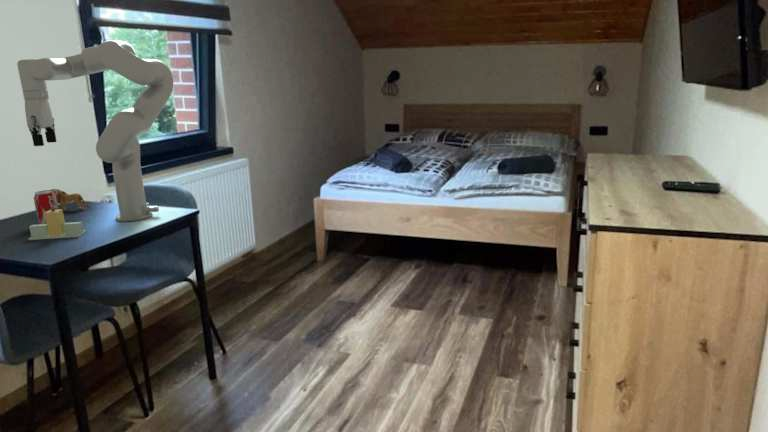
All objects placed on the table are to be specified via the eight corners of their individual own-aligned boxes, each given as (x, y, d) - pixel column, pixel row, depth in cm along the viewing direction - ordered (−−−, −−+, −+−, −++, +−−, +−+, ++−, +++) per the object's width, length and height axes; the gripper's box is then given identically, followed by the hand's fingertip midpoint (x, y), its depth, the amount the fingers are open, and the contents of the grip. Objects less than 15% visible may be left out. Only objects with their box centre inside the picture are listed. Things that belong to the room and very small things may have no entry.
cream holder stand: (86, 231, 193) (84, 220, 192) (79, 236, 187) (76, 225, 186) (37, 234, 192) (35, 223, 190) (28, 240, 186) (26, 228, 185)
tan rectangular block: (54, 232, 191) (48, 205, 188) (66, 231, 191) (61, 204, 189) (49, 236, 187) (43, 208, 185) (61, 235, 188) (56, 207, 185)
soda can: (51, 226, 201) (44, 194, 198) (34, 226, 202) (27, 194, 199) (65, 221, 207) (59, 189, 204) (49, 221, 209) (42, 189, 206)
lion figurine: (49, 212, 221) (44, 190, 219) (55, 209, 226) (51, 187, 224) (88, 210, 223) (84, 188, 221) (93, 207, 228) (89, 185, 226)
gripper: (36, 94, 207) (46, 141, 211) (11, 97, 190) (22, 148, 194) (58, 93, 207) (66, 140, 212) (35, 96, 191) (45, 146, 195)
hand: (45, 144), depth 203 cm, fingers open, 9 cm apart
